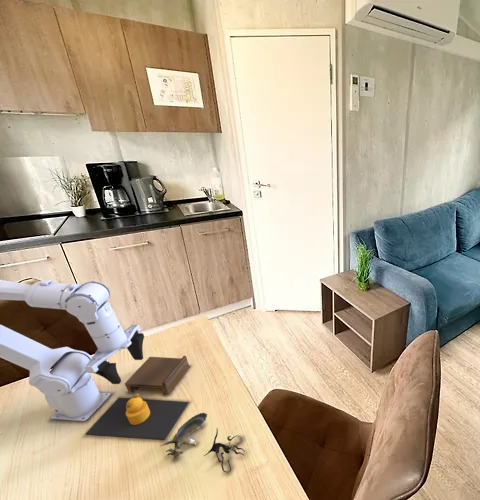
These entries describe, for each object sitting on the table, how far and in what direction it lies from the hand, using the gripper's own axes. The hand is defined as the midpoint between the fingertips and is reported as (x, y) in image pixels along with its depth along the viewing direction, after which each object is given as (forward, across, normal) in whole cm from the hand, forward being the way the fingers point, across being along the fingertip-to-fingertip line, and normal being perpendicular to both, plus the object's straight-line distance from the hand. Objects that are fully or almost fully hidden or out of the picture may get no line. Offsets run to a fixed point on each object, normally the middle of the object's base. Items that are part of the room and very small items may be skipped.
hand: (128, 370), depth 74 cm
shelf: (+11, +6, 0) cm, 12 cm away
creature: (+13, -13, -30) cm, 35 cm away
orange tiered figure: (+10, -6, -4) cm, 12 cm away
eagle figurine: (+12, -11, -19) cm, 25 cm away
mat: (+11, -6, -3) cm, 13 cm away
